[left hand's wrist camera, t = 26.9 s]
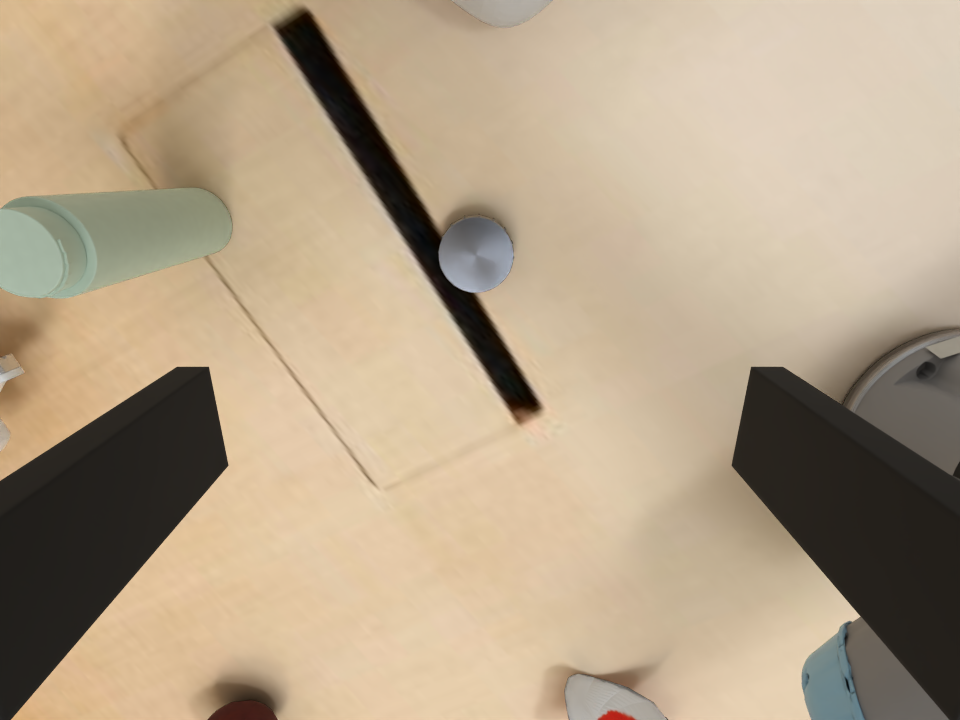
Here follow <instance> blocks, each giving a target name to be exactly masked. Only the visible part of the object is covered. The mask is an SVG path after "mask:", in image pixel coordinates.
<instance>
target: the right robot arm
mask: <svg viewBox="0 0 960 720" xmlns="http://www.w3.org/2000/svg"><path fill="white" fill-rule="evenodd" d="M23 373H25V371H24V370H23V369H22V367H21V365H20V364H19V363H18V361H17V360H16V358H15V357H14V356H13V354H12V353H11V354H8V355H5V356H2V357H0V392H1V390H2V388H3V386H4V385H5V383H6V381H7V380H10V379H12V378H14V377H17V376H19V375H21V374H23ZM9 438H10V431H9V429H8V428H7V426H6V425H5V424H4V422H3V421H2V420H1V418H0V451H2V450H3V449H4V448H5V447H6V445H7V443H8V441H9Z"/></svg>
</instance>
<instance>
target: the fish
mask: <svg viewBox="0 0 960 720" xmlns="http://www.w3.org/2000/svg"><path fill="white" fill-rule="evenodd" d="M564 692H565V702H566V707H567V713H568V718H569V720H668V719H667V718H666V717H665V716H664V715H663V714H662V713H661V711H660V710H659V709H658V707H657V706H656V705H655V704H654V702H652V701H650V700H649V699H647V698H645V697H643V696H642V695H640V694H638V693H637V692H635V691H633V690H631V689H630V688H628V687H625V686H622V685H619V684H616V683H613V682H610V681H606V680H602V679H599V678H595V677H592V676H588V675H584V674H575V675H572V676H570V677H569V678H568V680H567V683H566V687H565V690H564Z"/></svg>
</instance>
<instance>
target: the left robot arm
mask: <svg viewBox="0 0 960 720" xmlns="http://www.w3.org/2000/svg"><path fill="white" fill-rule="evenodd" d="M227 467H228V461H227V456H226V451H225V446H224V441H223V436H222V431H221V426H220V421H219V416H218V411H217V406H216V401H215V396H214V391H213V386H212V381H211V376H210V371H209V367H176V368H175V369H173V370H172V371H170V372H168V373H167V374H165V375H164V376H162V377H161V378H159V379H158V380H156V381H155V382H153V383H151V384H150V385H148V386H147V387H145V388H144V389H142V390H141V391H139V392H137V393H136V394H134V395H133V396H131V397H130V398H128V399H127V400H125V401H124V402H122V403H120V404H119V405H117V406H116V407H114V408H113V409H111V410H110V411H108V412H106V413H105V414H103V415H102V416H100V417H99V418H97V419H96V420H94V421H92V422H91V423H89V424H88V425H86V426H85V427H83V428H82V429H80V430H79V431H77V432H75V433H74V434H72V435H71V436H69V437H68V438H66V439H65V440H63V441H61V442H60V443H58V444H57V445H55V446H54V447H52V448H51V449H49V450H48V451H46V452H44V453H43V454H41V455H40V456H38V457H37V458H35V459H34V460H32V461H30V462H29V463H27V464H26V465H24V466H23V467H21V468H20V469H18V470H17V471H15V472H13V473H12V474H10V475H9V476H7V477H6V478H4V479H3V480H1V481H0V720H11V719H12V718H13V717H14V715H15V714H16V713H17V712H18V711H19V710H20V708H21V707H22V706H23V705H24V704H25V703H26V701H27V700H28V699H29V698H30V697H31V696H32V694H33V693H34V692H35V691H36V690H37V689H38V687H39V686H40V685H41V684H42V683H43V682H44V680H45V679H46V678H47V677H48V676H49V675H50V673H51V672H52V671H53V670H54V669H55V668H56V666H57V665H58V664H59V663H60V662H61V661H62V659H63V658H64V657H65V656H66V655H67V653H68V652H69V651H70V650H71V649H72V648H73V646H74V645H75V644H76V643H77V642H78V641H79V639H80V638H81V637H82V636H83V635H84V634H85V632H86V631H87V630H88V629H89V628H90V627H91V625H92V624H93V623H94V622H95V621H96V620H97V618H98V617H99V616H100V615H101V614H102V613H103V611H104V610H105V609H106V608H107V607H108V606H109V604H110V603H111V602H112V601H113V600H114V599H115V597H116V596H117V595H118V594H119V593H120V592H121V590H122V589H123V588H124V587H125V586H126V585H127V583H128V582H129V581H130V580H131V579H132V578H133V576H134V575H135V574H136V573H137V572H138V571H139V569H140V568H141V567H142V566H143V565H144V564H145V562H146V561H147V560H148V559H149V558H150V557H151V555H152V554H153V553H154V552H155V551H156V550H157V548H158V547H159V546H160V545H161V544H162V543H163V541H164V540H165V539H166V538H167V537H168V535H169V534H170V533H171V532H172V531H173V530H174V528H175V527H176V526H177V525H178V524H179V523H180V521H181V520H182V519H183V518H184V517H185V516H186V514H187V513H188V512H189V511H190V510H191V509H192V507H193V506H194V505H195V504H196V503H197V502H198V500H199V499H200V498H201V497H202V496H203V495H204V493H205V492H206V491H207V490H208V489H209V488H210V486H211V485H212V484H213V483H214V482H215V481H216V479H217V478H218V477H219V476H220V475H221V474H222V472H223V471H224V470H225V469H226V468H227ZM732 467H733V468H734V469H735V470H736V471H737V472H738V474H739V475H740V476H741V477H742V478H743V479H744V481H745V482H746V483H747V484H748V485H749V486H750V488H751V489H752V490H753V491H754V492H755V493H756V495H757V496H758V497H759V498H760V499H761V500H762V502H763V503H764V504H765V505H766V506H767V507H768V509H769V510H770V511H771V512H772V513H773V514H774V516H775V517H776V518H777V519H778V520H779V521H780V523H781V524H782V525H783V526H784V527H785V528H786V530H787V531H788V532H789V533H790V534H791V535H792V537H793V538H794V539H795V540H796V541H797V543H798V544H799V545H800V546H801V547H802V548H803V550H804V551H805V552H806V553H807V554H808V555H809V557H810V558H811V559H812V560H813V561H814V562H815V564H816V565H817V566H818V567H819V568H820V569H821V571H822V572H823V573H824V574H825V575H826V576H827V578H828V579H829V580H830V581H831V582H832V583H833V585H834V586H835V587H836V588H837V589H838V590H839V592H840V593H841V594H842V595H843V596H844V597H845V599H846V600H847V601H848V602H849V603H850V604H851V606H852V607H853V608H854V609H855V610H856V611H857V613H858V614H859V615H860V616H861V617H860V618H858V619H857V620H855V621H854V622H852V621H848V622H846V623H844V624H843V625H842V626H841V627H840V629H839V632H838V633H837V634H836V635H834V636H833V637H832V638H831V639H829V640H828V641H827V642H826V643H824V644H823V645H822V646H821V647H820V648H818V649H817V650H816V651H815V652H813V653H812V654H811V655H810V656H809V657H808V658H807V660H806V661H805V664H804V666H803V669H802V688H803V692H804V696H805V702H806V706H807V709H808V712H809V715H810V717H811V720H960V329H952V330H944V331H939V332H934V333H931V334H927V335H924V336H921V337H919V338H916V339H914V340H911V341H909V342H907V343H905V344H903V345H901V346H899V347H898V348H896V349H894V350H893V351H891V352H889V353H888V354H886V355H885V356H884V357H882V358H881V359H880V360H878V361H877V362H876V363H875V364H874V365H873V366H871V367H870V368H869V369H868V370H867V371H866V372H865V373H864V374H863V375H862V376H861V378H860V379H859V380H858V381H857V383H856V384H855V385H854V387H853V388H852V389H851V391H850V392H849V394H848V396H847V397H846V399H845V401H844V403H843V405H841V404H840V403H838V402H836V401H835V400H833V399H832V398H830V397H829V396H827V395H826V394H824V393H823V392H821V391H819V390H818V389H816V388H815V387H813V386H812V385H810V384H809V383H807V382H805V381H804V380H802V379H801V378H799V377H798V376H796V375H795V374H793V373H792V372H790V371H788V370H787V369H785V368H784V367H751V371H750V376H749V381H748V386H747V391H746V396H745V401H744V406H743V411H742V416H741V421H740V426H739V431H738V436H737V441H736V446H735V451H734V456H733V461H732Z"/></svg>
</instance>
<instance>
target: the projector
mask: <svg viewBox="0 0 960 720" xmlns="http://www.w3.org/2000/svg"><path fill="white" fill-rule="evenodd" d="M451 1H453V2H454V3H455V4H457V5H458V6H459V7H461V8H462V9H463V10H465V11H466V12H467V13H469V14H471V15H472V16H474V17H475V18H477V19H479V20H480V21H482V22H484V23H487V24H489V25H491V26H495V27H500V28H508V27H513V26H516V25H520V24H522V23H524V22H526V21H528V20H529V19H531V18H532V17H534V16H535V15H536V14H538V13H539V12H540V11H542V10H543V9H544V8H545V7H546V6H547V5H548V4H549V3H550V2H551V1H552V0H451Z"/></svg>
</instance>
